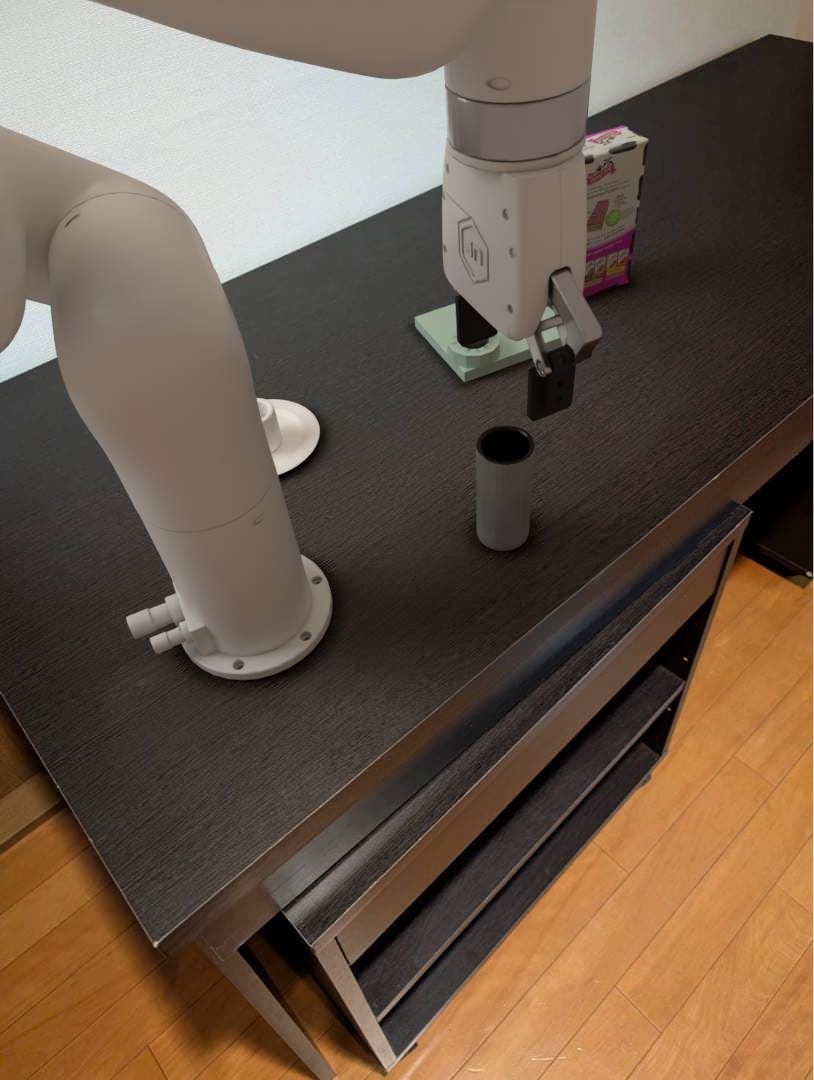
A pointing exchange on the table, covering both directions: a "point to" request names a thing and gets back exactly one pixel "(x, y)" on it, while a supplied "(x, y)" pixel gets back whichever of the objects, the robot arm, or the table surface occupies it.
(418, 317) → the pale green base plate
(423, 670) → the table surface
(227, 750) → the table surface
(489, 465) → the planter
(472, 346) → the button
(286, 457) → the candle holder
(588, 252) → the candy bar box
